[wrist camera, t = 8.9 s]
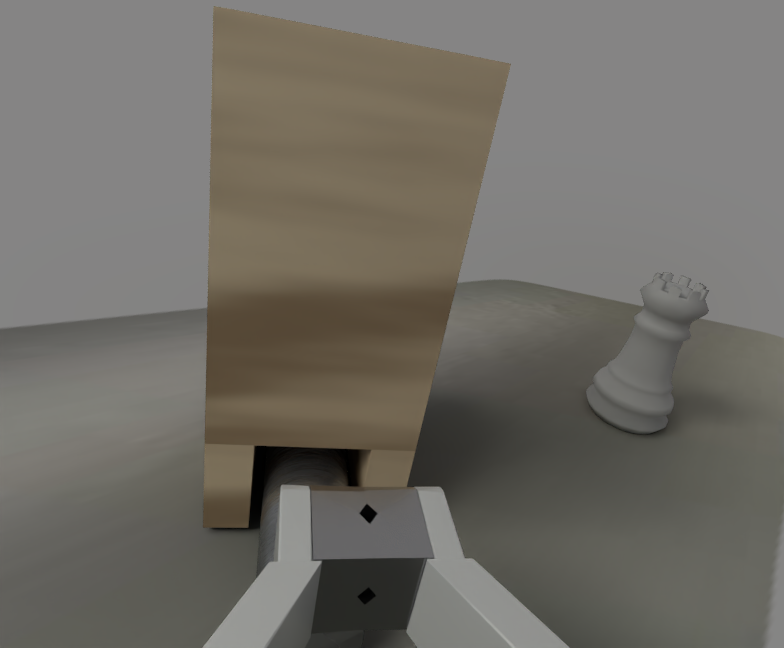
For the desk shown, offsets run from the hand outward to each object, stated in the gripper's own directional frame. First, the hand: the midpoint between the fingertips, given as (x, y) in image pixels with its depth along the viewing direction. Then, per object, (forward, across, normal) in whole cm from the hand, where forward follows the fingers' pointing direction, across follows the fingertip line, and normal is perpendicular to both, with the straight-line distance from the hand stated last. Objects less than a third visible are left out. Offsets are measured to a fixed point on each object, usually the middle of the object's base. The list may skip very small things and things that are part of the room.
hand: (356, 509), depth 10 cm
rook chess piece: (+15, -18, +8) cm, 25 cm away
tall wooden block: (+9, 0, +8) cm, 12 cm away
